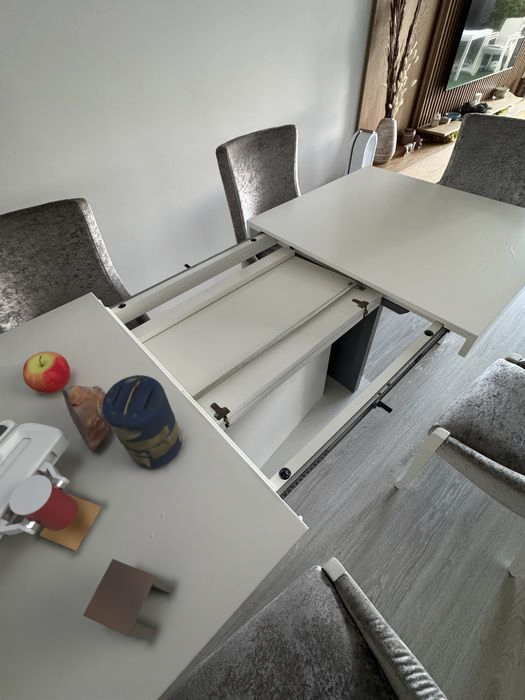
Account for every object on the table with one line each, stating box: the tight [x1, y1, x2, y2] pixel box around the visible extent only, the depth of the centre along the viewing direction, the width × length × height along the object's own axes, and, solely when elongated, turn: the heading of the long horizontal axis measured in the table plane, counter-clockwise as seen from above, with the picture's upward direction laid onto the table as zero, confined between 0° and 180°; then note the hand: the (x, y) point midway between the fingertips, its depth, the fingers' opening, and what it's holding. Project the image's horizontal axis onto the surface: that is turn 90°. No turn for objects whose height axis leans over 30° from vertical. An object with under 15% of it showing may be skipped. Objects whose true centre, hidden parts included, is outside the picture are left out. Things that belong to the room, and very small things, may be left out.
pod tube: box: [9, 475, 78, 531], centre depth 50 cm, size 5×5×9 cm
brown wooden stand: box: [82, 558, 173, 639], centre depth 45 cm, size 6×6×11 cm
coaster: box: [38, 493, 103, 552], centre depth 57 cm, size 7×7×1 cm
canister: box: [102, 374, 183, 469], centre depth 58 cm, size 10×10×18 cm
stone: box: [62, 385, 110, 452], centre depth 65 cm, size 13×8×10 cm
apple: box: [22, 350, 71, 394], centre depth 71 cm, size 8×8×10 cm
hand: (50, 505), depth 50 cm, fingers closed on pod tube, 5 cm apart
